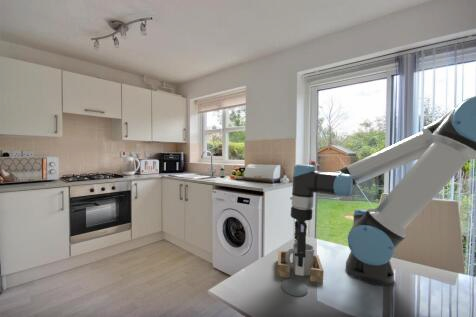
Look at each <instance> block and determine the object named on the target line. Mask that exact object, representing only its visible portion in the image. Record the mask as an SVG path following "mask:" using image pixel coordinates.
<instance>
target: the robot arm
mask: <svg viewBox="0 0 476 317" xmlns="http://www.w3.org/2000/svg"><path fill="white" fill-rule="evenodd" d="M471 160H476V95H474V96H471V97H469V98H466V99H465V100H462V101H461V102H459V103H458V104H457V105H456V106H454V108H451V109H450V110H449V111H447V112H446V113H445V114H444V115H442V116H441V117H440V118H437V120H435V121H434V122H432V123H429V124H427V125H426V126H424V127H422V129H421V131H420V132H418V133H416V134H413V135H411V136H409V137H407V138H405V139H403V140H400V141H397V143H395V144H392V145H390V146H388V147H385V148H382V149H381V150H380V151H377V152H375V153H372V154H371V155H368V156H366V157H364V158H362V159H359V160H358V161H355V162H353V163H351V164H349V165H347V166H344V167H342V168H340V169H337V170H336V171H333V172H329V171H327V172H326V171H319V170H316V166H315V165H313V164H303V163H302V164H300V163H299V164H296V165H294V167H293V175H292V192H291V196H290V197H289V199H290V201H291V206H290V217H291V218H292V219H295V221H294V241H293V242H294V243H293V245H294V244H295V243H297V253H295V256H296V266H295V272H294V275H296V276H304V261H305V257H306V244H307V243H306V242H307V241H306V237H307V228H308V226H307V223H306V221H311V220H312V219H313V213H314V212H313V211H314V210H313V208H314V199H315V196H314V194H322V195H330V196H337V197H339V198H340V197H345V198H349V197H351V196H352V192H353V187H355V186H356V185H359V184H361V183H363V182H366V181H368V180H370V179H371V180H372V179H373V178H375V177H378V176H380V175H384V174H386V173H389V172H390V171H393V170H395V169H397V168H399V167H403V166H405V165H408V164H410V163H412V162H414V164H413V166H412V167H411V168H409V170H408V171H407V172H406V173H405V175H403V177H401V179H400V181H398V182H397V184H396V185H395V186H394V187H393V188H392V189H391V191H390V192H389V193H388V194H387V196H386V197H385V198H383V200H382V202H380V204H379V205H378V206H377V207H376V208H368V209H362V208H358V209H357V208H356V209H355V210H354V211H353V216H352V217H353V223H352V226H351V228H350V231H349V232H348V235H347V245H348V248H349V250H350V253H349V255H348V257H347V259H346V261H345V270H346V272H347V273H348V274H349V275H350V276H352V277H353V278H355V279H356V280H359V281H361V282H365V283H367V284H370V285H376V286H389V285H392V284H393V283H395V282H394V280H395V273H394V270H393V266H392V262H391V259H392V258H393V257H394V253H395V250H396V248H397V247H398V246H399V245H400V244H401V243H402V242H403V240H404V239H405V238H406V237H407V235H406V228H407V227H408V226H409V225H410V224H411V223H412V222H413V220H414V219H415V218H417V216H418V215H419V214H420V213H421V212H422V211H423V210H424V208H426V207H427V205H428V204H429V203H430V202H431V201H432V200H433V199H434V198H435V197H436V196H437V194H439V193H440V192H441V191H442V189H443V188H444V187H445V186H447V184H448V183H449V182H450V181H451V180H452V179H453V178H454V177H455V176H456V175H457V174H458V172H459V171H460V170H461V169H463V167H464V166H465V165H466V164H467V163H468V162H469V161H471ZM415 161H416V162H415ZM300 252H301V253H300Z"/></svg>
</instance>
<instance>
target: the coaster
mask: <svg viewBox="0 0 476 317" xmlns="http://www.w3.org/2000/svg"><path fill="white" fill-rule="evenodd" d="M281 289H282V291H283V292H284V293H286V294H288V295H289V296H293V297H304V296H306V295H307V294H308V291H309V289H308V286H307V284H305V283H303V282H302V281H300V280H296V279H285V280H283V281H282V282H281Z"/></svg>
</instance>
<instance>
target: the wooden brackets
mask: <svg viewBox="0 0 476 317" xmlns="http://www.w3.org/2000/svg"><path fill="white" fill-rule="evenodd" d="M287 251H288V250H278V255H277V270H276V274H277V275H276V276H277V277H282V278H290V268H291V267H290V265H288V264H287V263H286V260H285V257H286V253H287ZM324 271H325V270H324V268H323V265H322V262H321V258H320V257H319V255H318V254H314V258H313V268H311V271H310V275H309V279H310V280H309V281H310V282H316V283H322V284H323V283H324Z"/></svg>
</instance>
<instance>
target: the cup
mask: <svg viewBox="0 0 476 317" xmlns="http://www.w3.org/2000/svg"><path fill="white" fill-rule="evenodd" d="M292 245H293V247H292V248H290V249H288V250H286V251H287V253H286V257H285V260H286V262H285V264H288V265H290V268H292V271H293V272H294V273H295V266H296V256H295V253H297V243H295V244H294V243H293V244H292ZM314 252H315V248H314V246H313V245H312V244H309V243H306V257H305V261H304V276H305V277H306V276H310V271H311V268H314V266H313V258H314V255H315V254H314ZM300 253H301V252H300ZM291 255H292V262H291Z"/></svg>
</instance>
